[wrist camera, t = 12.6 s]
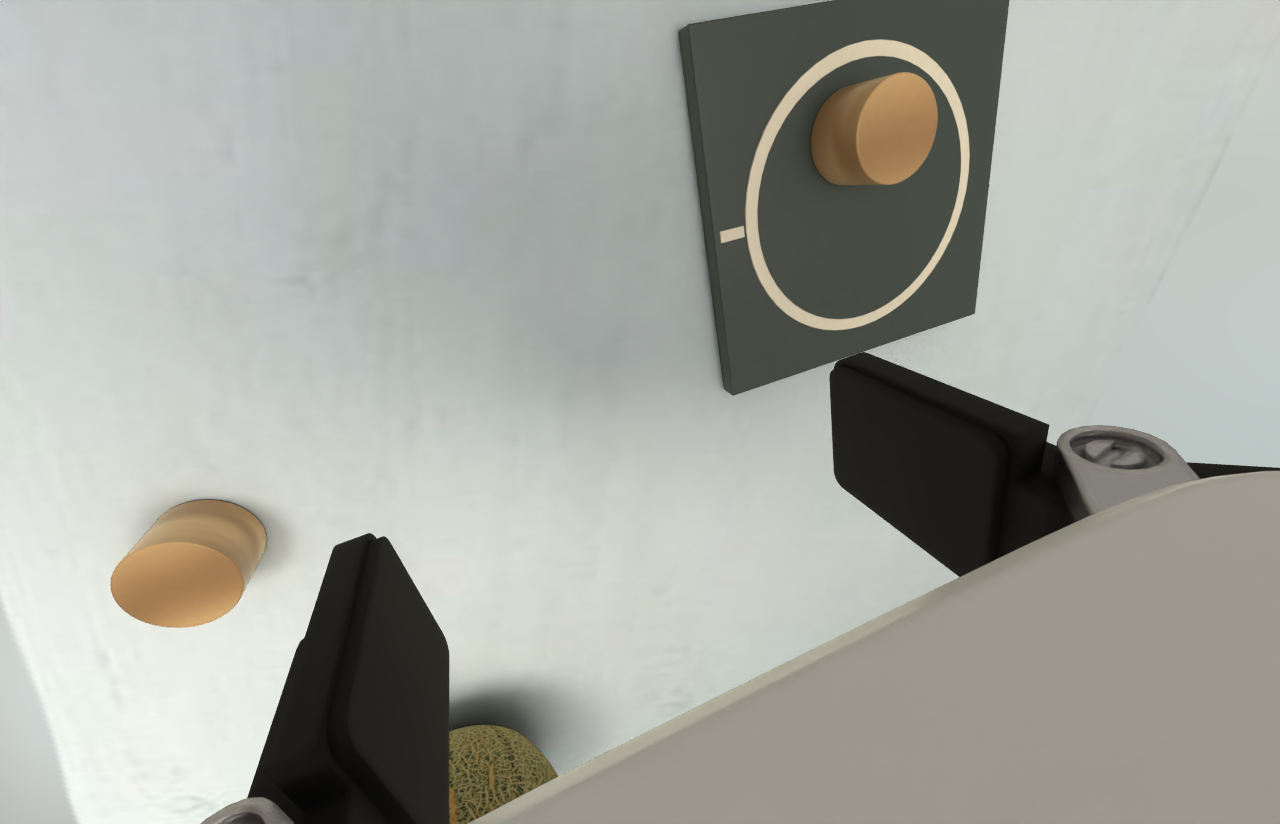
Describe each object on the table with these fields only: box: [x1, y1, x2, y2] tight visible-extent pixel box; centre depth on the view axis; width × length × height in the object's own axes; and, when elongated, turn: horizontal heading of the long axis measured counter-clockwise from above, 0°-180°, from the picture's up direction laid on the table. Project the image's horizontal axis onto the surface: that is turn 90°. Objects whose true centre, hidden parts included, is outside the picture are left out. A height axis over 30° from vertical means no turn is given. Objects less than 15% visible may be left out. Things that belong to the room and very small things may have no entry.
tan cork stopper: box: [111, 500, 267, 628], centre depth 21 cm, size 4×4×3 cm
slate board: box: [679, 0, 1009, 395], centre depth 25 cm, size 16×16×1 cm
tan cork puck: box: [811, 72, 938, 185], centre depth 22 cm, size 4×4×3 cm
